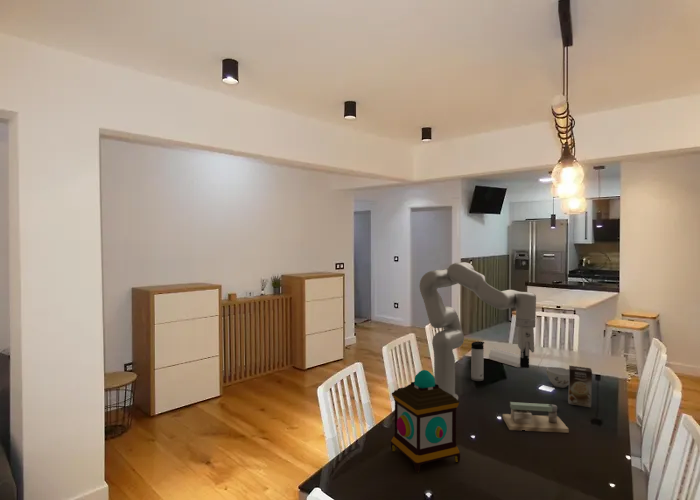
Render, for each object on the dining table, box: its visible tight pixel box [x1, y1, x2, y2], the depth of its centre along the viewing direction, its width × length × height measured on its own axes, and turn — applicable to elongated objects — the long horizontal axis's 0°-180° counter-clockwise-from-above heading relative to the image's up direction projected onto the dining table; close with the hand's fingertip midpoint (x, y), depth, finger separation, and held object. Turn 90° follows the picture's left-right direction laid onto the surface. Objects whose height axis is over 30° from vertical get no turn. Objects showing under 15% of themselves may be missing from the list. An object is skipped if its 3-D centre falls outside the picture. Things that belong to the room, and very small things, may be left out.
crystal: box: [488, 347, 522, 369], centre depth 266 cm, size 7×7×24 cm
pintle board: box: [502, 411, 570, 434], centre depth 178 cm, size 22×12×6 cm, turn 83°
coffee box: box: [567, 365, 593, 408], centre depth 200 cm, size 9×6×16 cm
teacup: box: [546, 366, 569, 389], centre depth 225 cm, size 15×12×8 cm
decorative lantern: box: [390, 369, 461, 473], centre depth 152 cm, size 20×20×30 cm
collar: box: [510, 408, 533, 424], centre depth 178 cm, size 6×6×4 cm
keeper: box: [509, 401, 558, 413], centre depth 178 cm, size 3×18×2 cm, turn 80°
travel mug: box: [470, 341, 485, 382], centre depth 235 cm, size 6×7×20 cm
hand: (524, 367), depth 182 cm, fingers closed
